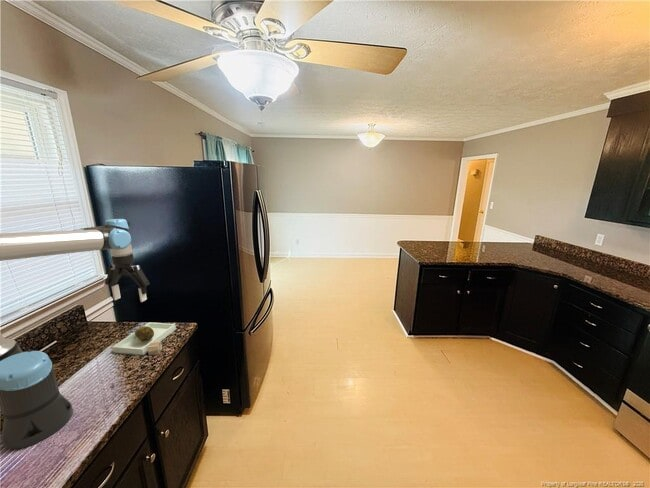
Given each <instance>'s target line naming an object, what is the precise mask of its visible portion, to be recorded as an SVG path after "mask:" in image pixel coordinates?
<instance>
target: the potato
mask: <svg viewBox="0 0 650 488" xmlns="http://www.w3.org/2000/svg"><path fill="white" fill-rule="evenodd" d="M143 326H144V325H143ZM143 326H140V327H139V328H137V329H136V330H135V331H134V332H135V336H136V337H137V338H138V339H139V340H141V341H142V342H144V341H148V340H150V339H151V338H152V337H153V336H154V331H153V329H152V328H150V327H147V326H144V327H143Z"/></svg>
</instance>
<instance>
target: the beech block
mask: <svg viewBox="0 0 650 488" xmlns="http://www.w3.org/2000/svg"><path fill="white" fill-rule="evenodd" d="M147 349H148V352H147V353H148V356H152V355H159V354H160V353H161V351H162V350H163V345H162V341H156V342H151V343H150V344H149V346H148V347H147Z"/></svg>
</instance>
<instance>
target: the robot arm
mask: <svg viewBox="0 0 650 488" xmlns="http://www.w3.org/2000/svg"><path fill="white" fill-rule="evenodd" d="M104 250H109V252H110V256H111V262H112V264H110V265H108V272H107V276H106V280H105V285H109V287H110V289H111V293H112V296H113V301H117V300H119V299H121V292H120V291H121V290H120V286H119V284H118V282H119V280H120V279H121V277H122V276H126V277H129V278H131V280H132V281H133V282H134V283H135V284H136V285H138V288H137V289H138V295H139V301H140V303H143V302H145V301H146V300H148V297H147V293H148V291H147V287H148V286H149V285H151V283H150V281H149V279H148V278H147V277H146V275H145V273H144V272H143V269H142V267H141V265H140V264H137V265H134V262H135V258H134V254H133V247H132V236H131V234H130V227H129V225H128V221H127V220H126V219H125V218H111V219H107V220H105V221H104V224H103V225H99V226H90V227H81V228H75V229H72V230H54V231H30V232H27V231H25V232H7V233H6V232H3V233H0V262H2V261H3V262H4V261H12V260H21V259H31V258H38V257H48V256H56V255H57V256H58V255H65V254H66V255H67V254H75V253H84V252H92V251H93V252H95V251H104ZM0 410H1V413H2V416H3V424H2V431H1V437H0V440H1V442H2V445H3V447H4V448H5V449H7V450H19V449H23V448H26V447H30V446H33V445H35V444H37V443H39V442H42V441H44V440H46V439H47V438H49V437H51V436H52V435H53V434H56V432H58V431H59V430H61V429H62V428H63V427H64V426H66V424H67V423H68V422H69V421H70V419H71V418H72V416H73V415H74V407H73V405H72V403H71V402H70V401H69V399H67V398H66V397H65V396H64V395H62V393H61V392H60V389H59V386H58V382H57V378H56V375H55V371H54V368H53V362H52V360H51V359H50V357H49V355H48V354H47V353H45V352H43V351H40V350H30V351H23V350H22V348H21V346H19V345H18V343H17V341H16V340H15V339H12V338H5V337H4V336H3V334H2V333H1V332H0Z"/></svg>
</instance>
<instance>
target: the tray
mask: <svg viewBox="0 0 650 488" xmlns="http://www.w3.org/2000/svg"><path fill="white" fill-rule="evenodd" d="M144 326H147V327H150V328H152V329H153V331H154V336H153V337H152V338H151V339H150V340H148V341H144V342H142V341H141V340H139V339H138V338H137V337H136V336H135V331H134V332H132V333H131V334H129V335H128V336H126V337H125V338H123V339H122V340H121V341H119V342H117V343H116V344H114V345H112V347H111V348H112V352H113V354H122V355H123V354H125V355H132V356H135V355H136V356H145V355H146V354H147V353H148V349H147V347H148V346H149V344H150V343H151V342H156V341H161V342H162V341H163V340H165V339H166V338H167V337H169V336H170V335H171V334H172V333H173V332H175V331H176V330H177V327H176V324H175V323H164V322H163V323H162V322H161V323H160V322H148V323H146V324H145V325H143V326H142V327H144Z"/></svg>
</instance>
